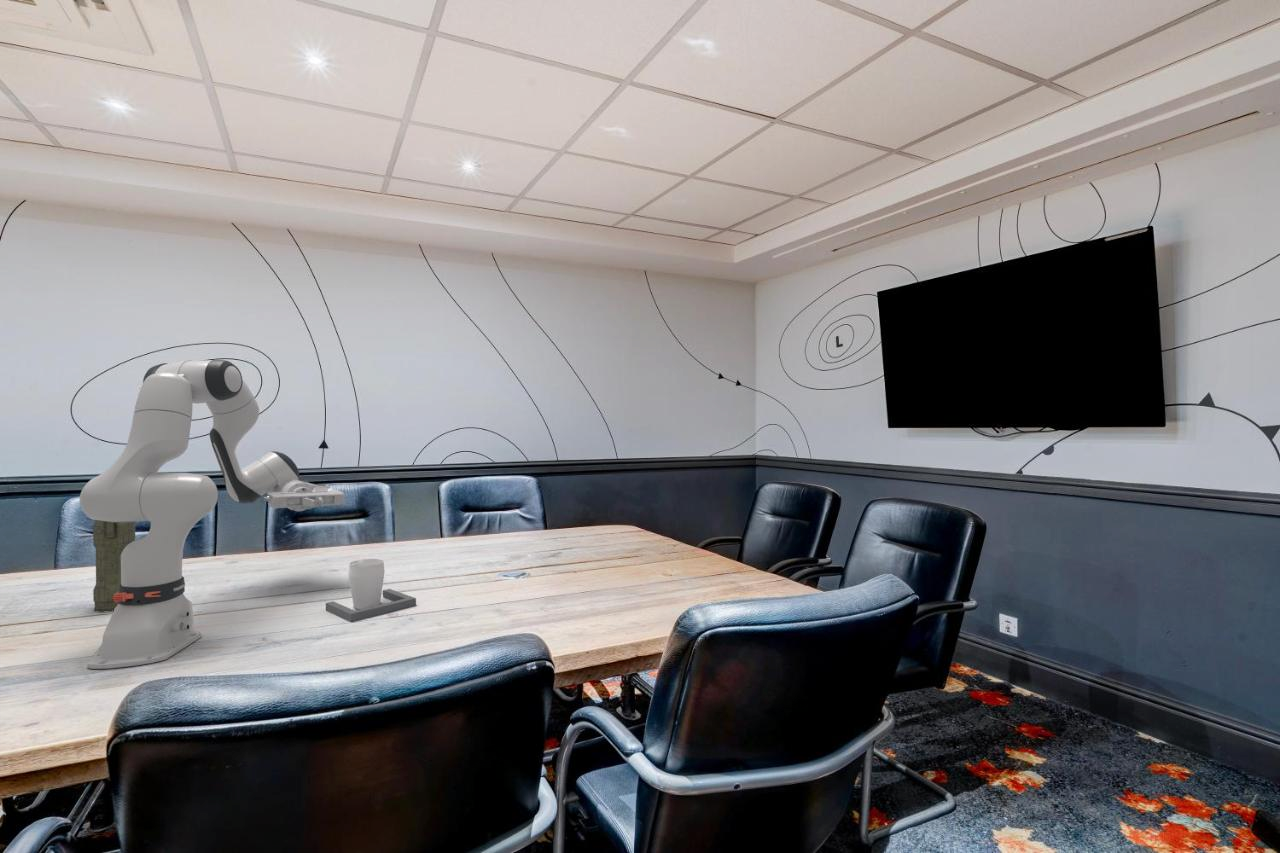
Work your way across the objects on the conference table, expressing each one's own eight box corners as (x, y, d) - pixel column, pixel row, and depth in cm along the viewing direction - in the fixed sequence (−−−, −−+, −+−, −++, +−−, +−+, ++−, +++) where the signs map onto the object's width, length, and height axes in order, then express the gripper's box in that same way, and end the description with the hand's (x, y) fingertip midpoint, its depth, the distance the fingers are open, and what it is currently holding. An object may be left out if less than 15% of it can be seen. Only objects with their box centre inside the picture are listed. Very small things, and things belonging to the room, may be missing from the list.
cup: (375, 611, 166) (375, 566, 166) (342, 610, 166) (342, 566, 166) (390, 601, 175) (390, 558, 175) (359, 600, 175) (358, 558, 175)
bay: (325, 610, 166) (325, 602, 166) (389, 595, 180) (389, 588, 180) (350, 622, 157) (350, 614, 157) (416, 605, 171) (416, 598, 171)
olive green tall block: (91, 615, 161) (90, 481, 161) (95, 604, 171) (94, 478, 170) (135, 609, 167) (134, 479, 166) (136, 599, 176) (135, 476, 175)
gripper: (261, 486, 181) (279, 494, 172) (333, 484, 196) (353, 491, 187) (259, 508, 181) (278, 516, 172) (331, 504, 196) (351, 512, 187)
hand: (317, 503), depth 180 cm, fingers closed
